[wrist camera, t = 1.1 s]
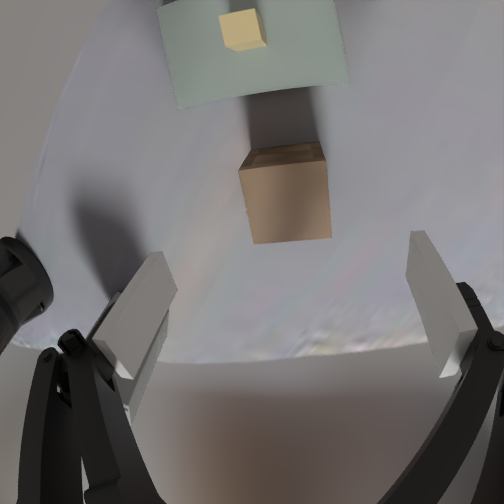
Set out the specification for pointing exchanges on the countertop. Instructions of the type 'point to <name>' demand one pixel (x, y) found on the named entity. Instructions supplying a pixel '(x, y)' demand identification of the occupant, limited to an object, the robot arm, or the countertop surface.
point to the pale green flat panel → (250, 47)
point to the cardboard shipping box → (286, 193)
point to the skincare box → (135, 388)
